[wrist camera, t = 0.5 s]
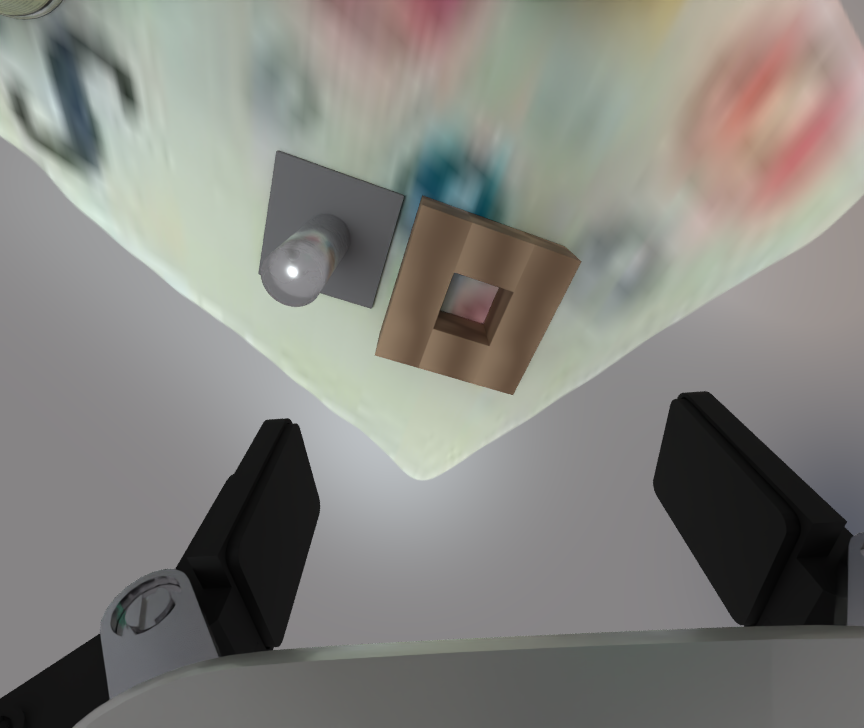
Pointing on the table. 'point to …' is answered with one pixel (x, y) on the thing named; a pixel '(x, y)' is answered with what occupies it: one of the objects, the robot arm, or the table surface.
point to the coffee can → (27, 8)
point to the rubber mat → (344, 198)
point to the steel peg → (305, 261)
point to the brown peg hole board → (485, 261)
